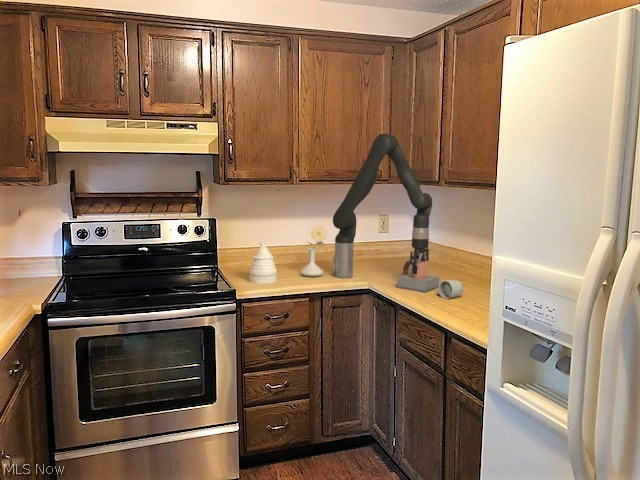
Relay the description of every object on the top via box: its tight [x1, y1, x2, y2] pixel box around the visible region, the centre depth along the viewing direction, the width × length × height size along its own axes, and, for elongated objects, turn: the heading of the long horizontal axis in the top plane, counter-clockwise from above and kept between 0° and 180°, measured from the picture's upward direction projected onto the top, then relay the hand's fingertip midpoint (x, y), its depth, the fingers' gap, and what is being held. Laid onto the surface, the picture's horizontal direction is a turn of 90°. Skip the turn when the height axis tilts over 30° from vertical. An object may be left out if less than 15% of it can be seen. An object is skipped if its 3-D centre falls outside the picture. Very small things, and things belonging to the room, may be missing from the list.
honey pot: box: [249, 241, 278, 285], centre depth 253 cm, size 13×13×18 cm
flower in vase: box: [300, 226, 328, 277], centre depth 266 cm, size 13×11×25 cm
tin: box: [402, 259, 413, 275], centre depth 271 cm, size 15×3×8 cm, turn 141°
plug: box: [412, 260, 427, 279], centre depth 244 cm, size 4×4×14 cm
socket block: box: [396, 273, 440, 294], centre depth 245 cm, size 14×14×5 cm
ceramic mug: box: [436, 279, 464, 300], centre depth 229 cm, size 11×8×8 cm
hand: (418, 272), depth 244 cm, fingers open, 8 cm apart
